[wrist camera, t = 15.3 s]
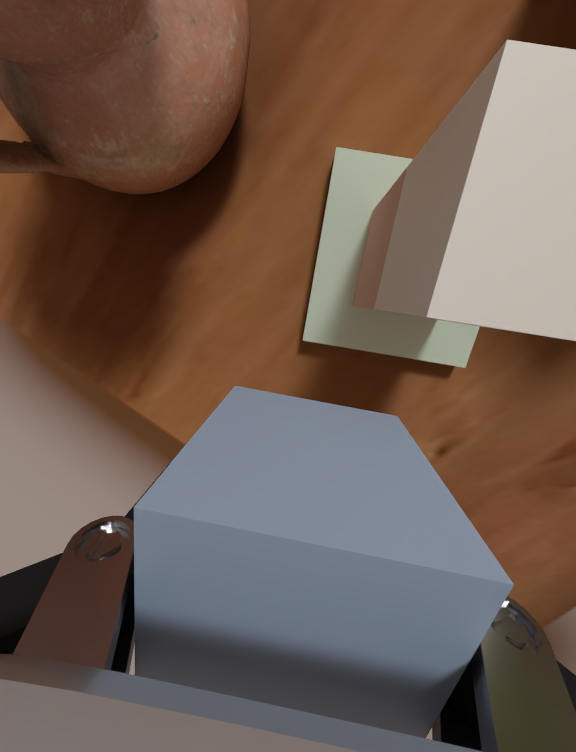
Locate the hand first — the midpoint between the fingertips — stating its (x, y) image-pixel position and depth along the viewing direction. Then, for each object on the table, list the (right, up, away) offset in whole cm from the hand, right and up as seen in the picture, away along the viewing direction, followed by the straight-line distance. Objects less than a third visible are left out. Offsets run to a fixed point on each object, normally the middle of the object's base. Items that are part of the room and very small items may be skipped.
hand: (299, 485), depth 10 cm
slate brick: (0, 0, +1) cm, 1 cm away
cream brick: (+7, +10, +3) cm, 12 cm away
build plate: (+8, +12, +9) cm, 17 cm away
